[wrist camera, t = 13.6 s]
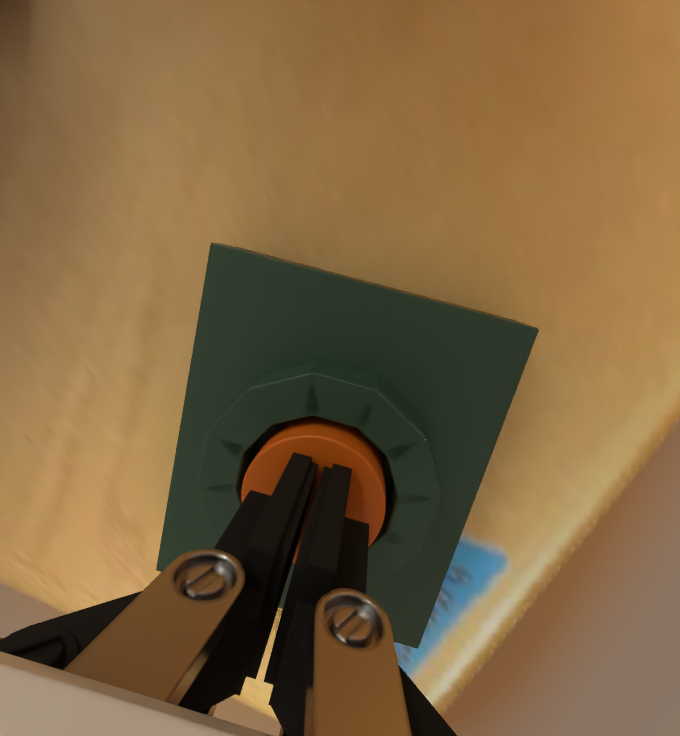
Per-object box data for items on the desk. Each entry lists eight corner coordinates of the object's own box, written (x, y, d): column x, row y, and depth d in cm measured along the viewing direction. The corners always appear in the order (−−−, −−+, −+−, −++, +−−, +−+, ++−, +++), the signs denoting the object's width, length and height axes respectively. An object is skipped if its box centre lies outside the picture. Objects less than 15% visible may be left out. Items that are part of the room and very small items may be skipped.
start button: (273, 398, 12) (255, 418, 11) (401, 434, 12) (404, 459, 10) (248, 510, 13) (228, 545, 12) (366, 544, 13) (363, 585, 11)
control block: (236, 246, 14) (181, 236, 10) (515, 320, 14) (568, 338, 10) (183, 533, 17) (125, 610, 13) (413, 601, 17) (423, 700, 13)
